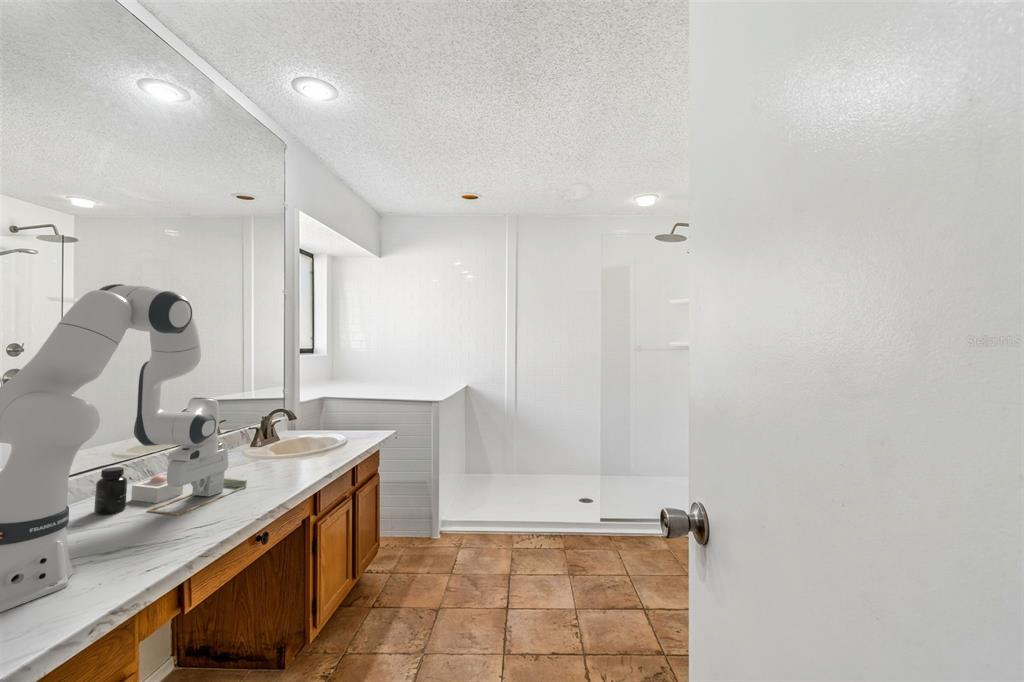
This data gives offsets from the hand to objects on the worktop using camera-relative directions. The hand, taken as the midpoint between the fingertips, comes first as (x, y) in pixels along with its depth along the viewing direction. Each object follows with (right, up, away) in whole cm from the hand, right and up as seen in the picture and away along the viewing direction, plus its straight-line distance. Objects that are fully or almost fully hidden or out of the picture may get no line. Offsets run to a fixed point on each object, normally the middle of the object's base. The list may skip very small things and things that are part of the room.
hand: (198, 492), depth 144 cm
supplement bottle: (-17, -1, -12) cm, 21 cm away
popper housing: (-13, -1, 0) cm, 13 cm away
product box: (0, -2, +5) cm, 5 cm away
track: (0, -2, 0) cm, 2 cm away
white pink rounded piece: (-13, -1, 0) cm, 13 cm away
